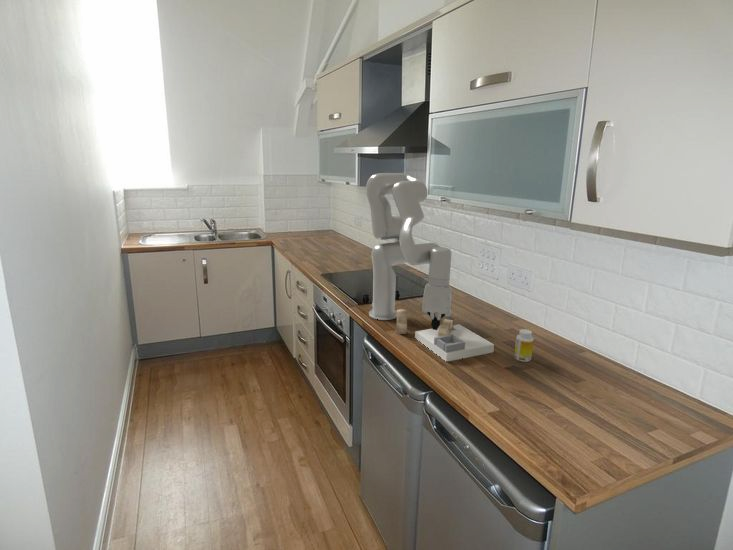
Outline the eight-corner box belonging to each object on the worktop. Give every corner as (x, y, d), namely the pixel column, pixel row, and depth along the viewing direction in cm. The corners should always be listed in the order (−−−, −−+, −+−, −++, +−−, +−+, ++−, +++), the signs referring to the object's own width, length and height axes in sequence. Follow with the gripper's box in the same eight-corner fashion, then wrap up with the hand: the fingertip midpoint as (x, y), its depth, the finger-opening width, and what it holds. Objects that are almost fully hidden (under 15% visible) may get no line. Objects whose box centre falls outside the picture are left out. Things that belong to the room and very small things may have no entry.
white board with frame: (414, 338, 169) (415, 325, 168) (458, 331, 177) (459, 318, 176) (446, 361, 151) (447, 346, 149) (493, 352, 159) (494, 338, 157)
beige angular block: (445, 326, 174) (446, 316, 173) (454, 327, 172) (454, 317, 171) (437, 336, 163) (438, 326, 162) (446, 338, 162) (447, 327, 161)
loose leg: (394, 331, 176) (395, 310, 173) (403, 330, 177) (404, 308, 175) (399, 335, 172) (400, 313, 170) (408, 333, 174) (409, 312, 171)
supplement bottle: (534, 360, 153) (538, 332, 150) (523, 363, 150) (526, 335, 148) (521, 354, 158) (525, 327, 155) (510, 357, 155) (513, 329, 152)
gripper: (416, 281, 160) (413, 329, 165) (458, 286, 155) (453, 335, 160) (420, 276, 167) (418, 322, 172) (461, 281, 162) (457, 328, 167)
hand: (435, 328), depth 166 cm, fingers closed
